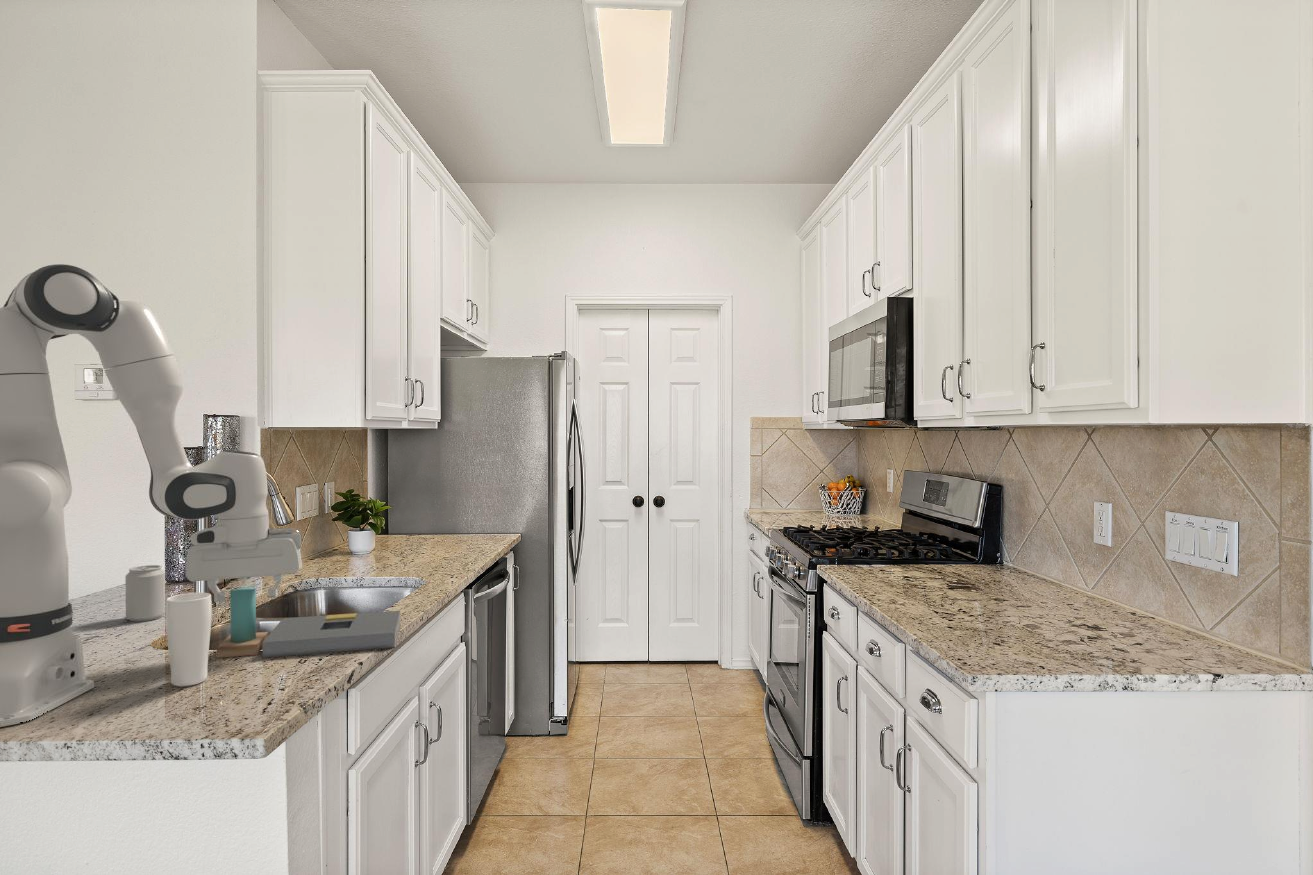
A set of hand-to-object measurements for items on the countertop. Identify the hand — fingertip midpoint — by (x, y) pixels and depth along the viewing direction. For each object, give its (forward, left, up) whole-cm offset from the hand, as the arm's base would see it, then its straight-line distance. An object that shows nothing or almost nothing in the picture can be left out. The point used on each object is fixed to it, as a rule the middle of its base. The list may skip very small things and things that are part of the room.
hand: (246, 599), depth 143 cm
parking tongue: (0, +1, -10) cm, 10 cm away
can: (+32, +29, -10) cm, 44 cm away
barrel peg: (0, +1, -8) cm, 8 cm away
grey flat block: (+2, -16, -10) cm, 19 cm away
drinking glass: (-18, +5, -10) cm, 21 cm away
